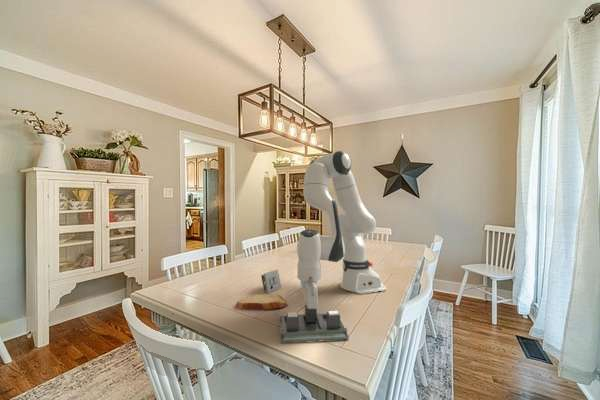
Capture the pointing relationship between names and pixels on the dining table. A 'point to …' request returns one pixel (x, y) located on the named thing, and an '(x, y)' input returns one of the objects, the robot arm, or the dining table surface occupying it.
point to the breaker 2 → (333, 320)
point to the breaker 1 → (292, 322)
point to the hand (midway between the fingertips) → (308, 309)
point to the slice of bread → (262, 302)
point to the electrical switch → (271, 281)
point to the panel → (311, 330)
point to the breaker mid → (310, 315)
